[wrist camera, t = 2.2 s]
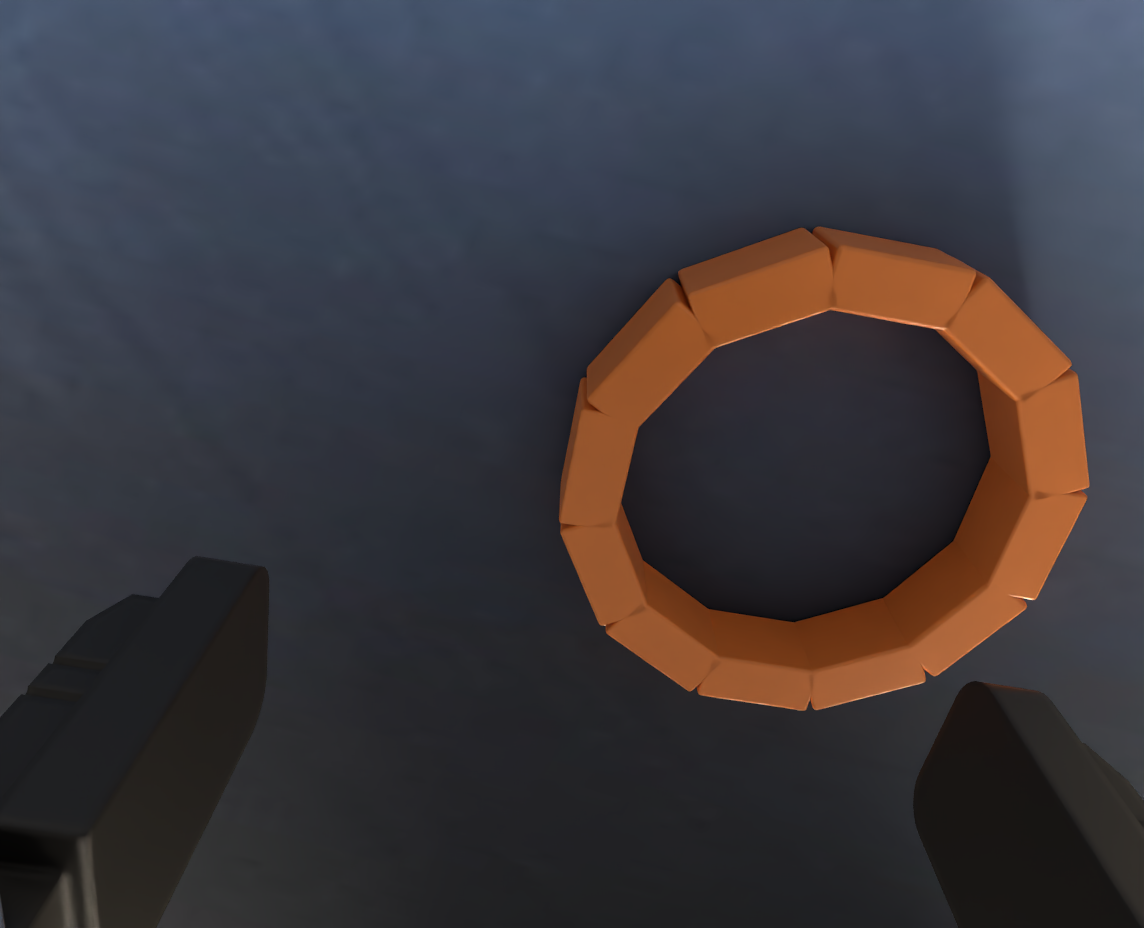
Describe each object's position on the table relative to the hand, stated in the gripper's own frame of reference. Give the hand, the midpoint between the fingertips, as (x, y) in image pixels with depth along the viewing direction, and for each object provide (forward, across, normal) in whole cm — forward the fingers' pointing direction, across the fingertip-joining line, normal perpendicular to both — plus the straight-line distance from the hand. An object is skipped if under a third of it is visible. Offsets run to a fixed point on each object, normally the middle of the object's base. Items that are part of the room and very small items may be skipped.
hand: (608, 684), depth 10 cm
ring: (+7, -4, 0) cm, 8 cm away
